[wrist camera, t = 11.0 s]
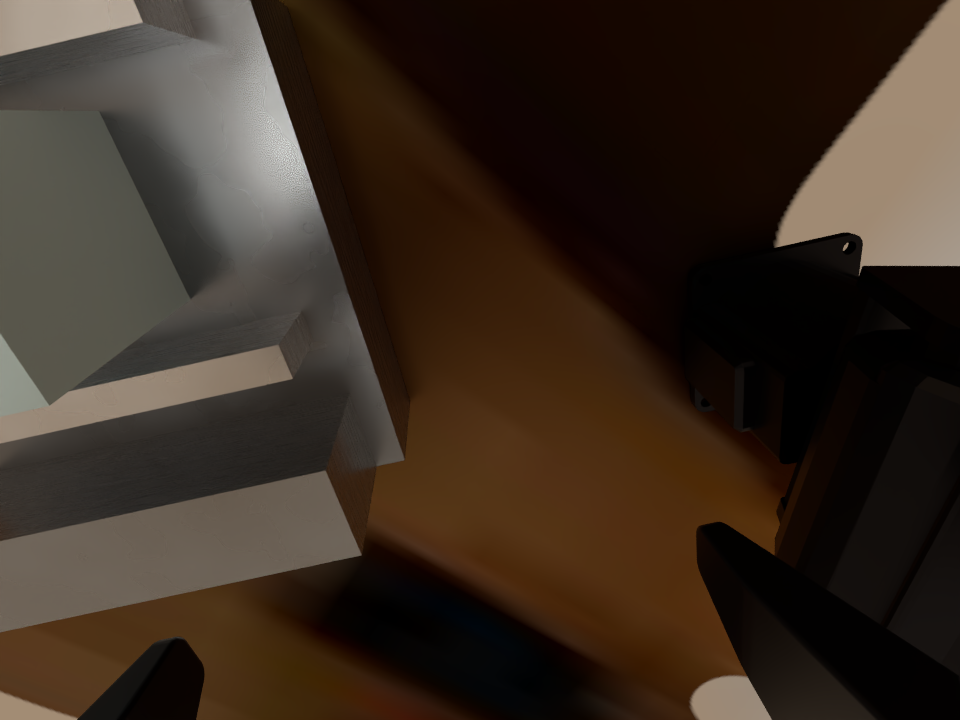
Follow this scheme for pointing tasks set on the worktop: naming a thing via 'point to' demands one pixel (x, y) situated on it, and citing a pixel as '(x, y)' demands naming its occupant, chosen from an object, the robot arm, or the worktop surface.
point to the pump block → (71, 256)
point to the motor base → (201, 322)
